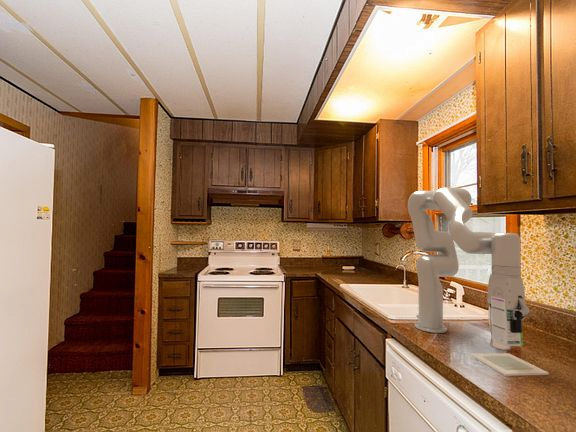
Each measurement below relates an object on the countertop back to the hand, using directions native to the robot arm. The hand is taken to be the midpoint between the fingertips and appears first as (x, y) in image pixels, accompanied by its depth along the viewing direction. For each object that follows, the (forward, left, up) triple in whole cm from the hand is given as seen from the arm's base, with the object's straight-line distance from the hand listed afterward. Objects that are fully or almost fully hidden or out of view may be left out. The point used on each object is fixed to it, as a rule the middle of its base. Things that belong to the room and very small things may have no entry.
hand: (506, 328), depth 94 cm
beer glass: (-14, +10, -11) cm, 21 cm away
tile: (0, 0, -11) cm, 11 cm away
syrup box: (0, 0, -5) cm, 5 cm away
